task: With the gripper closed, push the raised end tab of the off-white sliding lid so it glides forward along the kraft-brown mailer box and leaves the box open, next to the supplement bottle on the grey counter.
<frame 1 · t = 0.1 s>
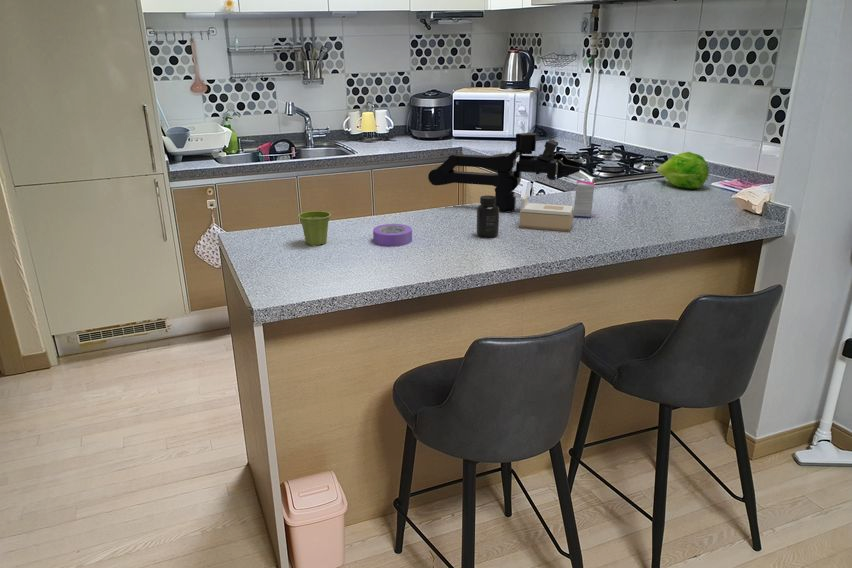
hand: (581, 167, 222), 17 cm above the countertop, fingers open, 9 cm apart
supplement bottle: (487, 235, 206), on the countertop
lettuce: (678, 186, 271), on the countertop
supplement box: (582, 216, 228), on the countertop
masking tape: (392, 241, 201), on the countertop
plant pot: (316, 243, 199), on the countertop
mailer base: (546, 226, 215), on the countertop
lid: (547, 204, 213), point 7 cm above the countertop, slide at 0.0 cm
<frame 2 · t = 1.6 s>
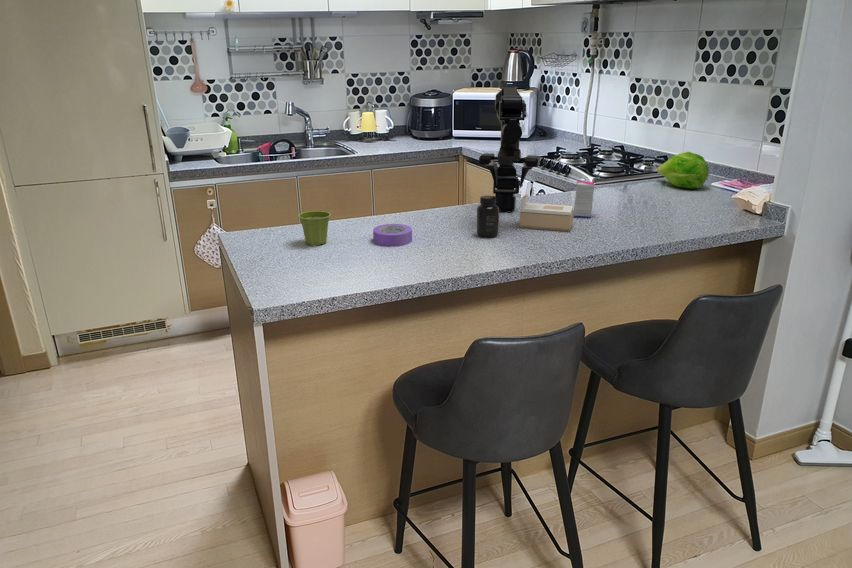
hand: (508, 186, 215), 12 cm above the countertop, fingers open, 8 cm apart
nothing on the countertop moved.
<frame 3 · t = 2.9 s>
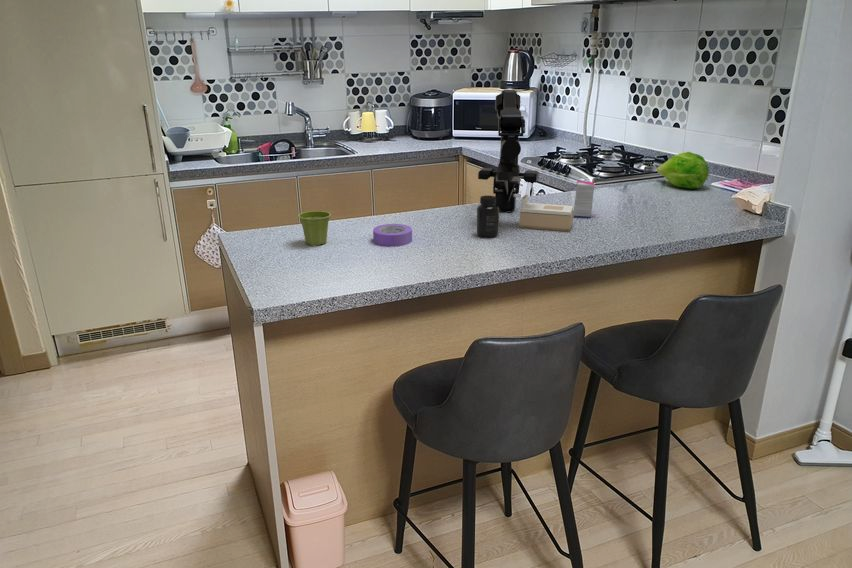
hand: (507, 201, 216), 7 cm above the countertop, fingers closed
nothing on the countertop moved.
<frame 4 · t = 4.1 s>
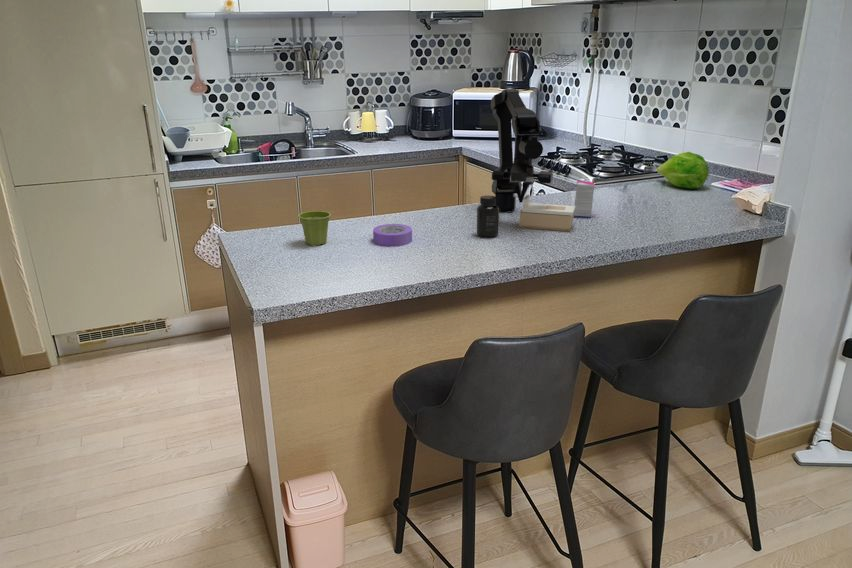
hand: (520, 202, 215), 7 cm above the countertop, fingers closed
lid: (549, 204, 212), point 7 cm above the countertop, slide at 0.6 cm, touching gripper
everything else where it was.
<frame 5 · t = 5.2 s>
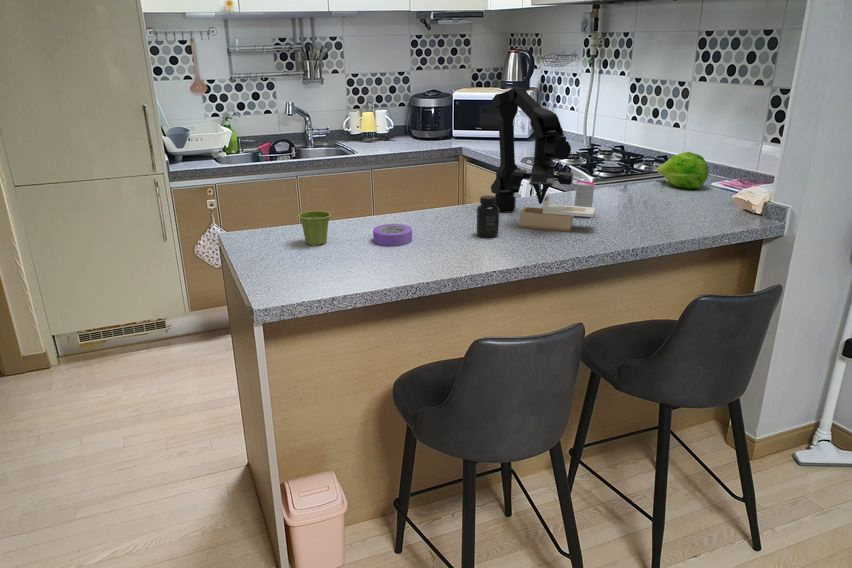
hand: (540, 203, 213), 7 cm above the countertop, fingers closed
lid: (569, 205, 211), point 7 cm above the countertop, slide at 6.9 cm, touching gripper
everything else where it was.
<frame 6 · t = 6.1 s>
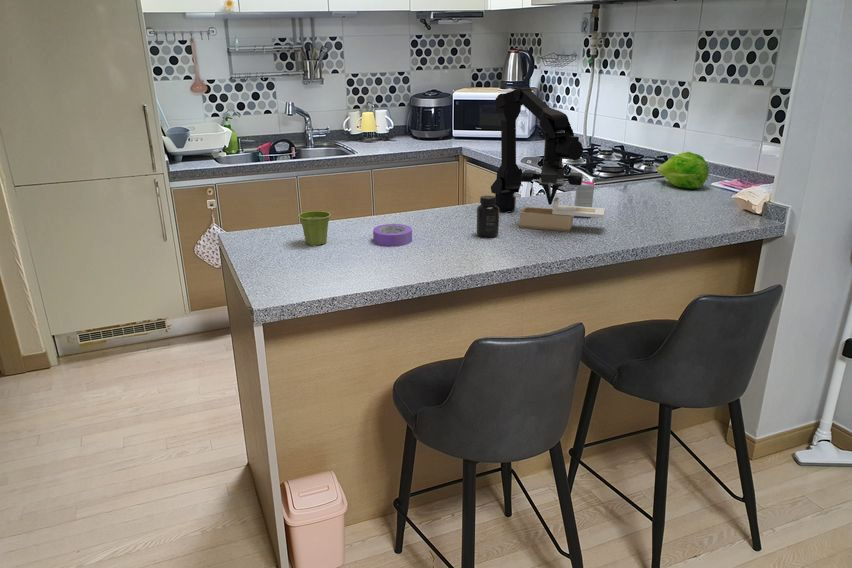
hand: (550, 204, 212), 7 cm above the countertop, fingers closed
lid: (579, 206, 210), point 7 cm above the countertop, slide at 10.0 cm, touching gripper
everything else where it was.
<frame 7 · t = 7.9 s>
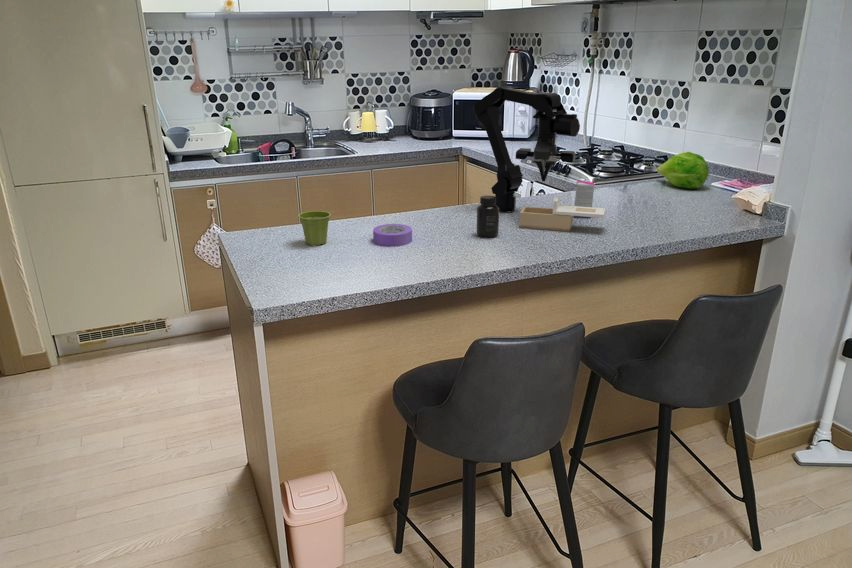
hand: (543, 181, 221), 12 cm above the countertop, fingers closed
lid: (579, 206, 210), point 7 cm above the countertop, slide at 10.1 cm
everything else where it was.
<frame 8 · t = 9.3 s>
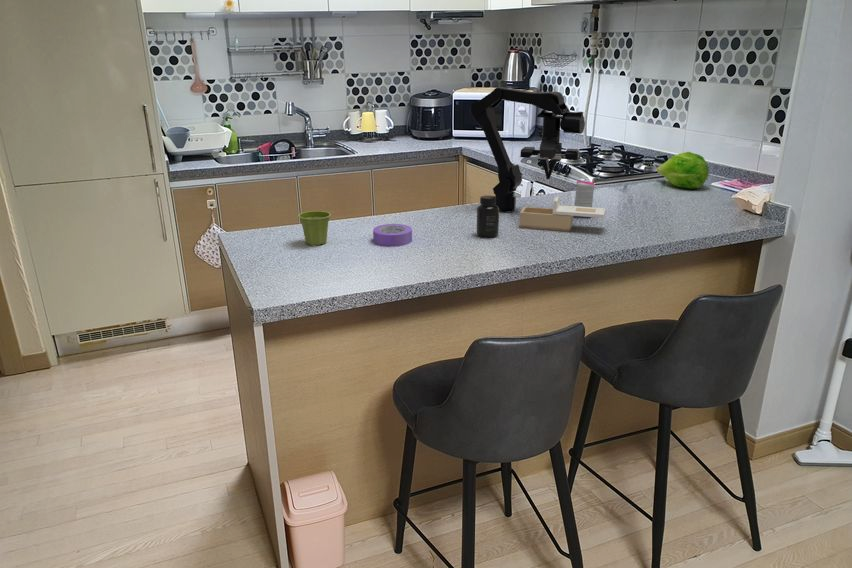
hand: (548, 179, 224), 13 cm above the countertop, fingers closed
nothing on the countertop moved.
at the end: lid slide at 10.1 cm; lid touching nothing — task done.
